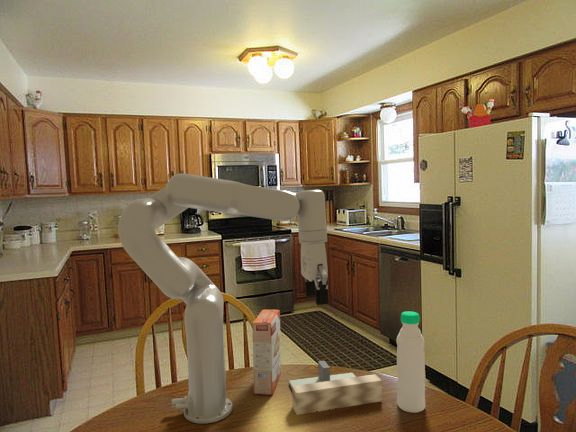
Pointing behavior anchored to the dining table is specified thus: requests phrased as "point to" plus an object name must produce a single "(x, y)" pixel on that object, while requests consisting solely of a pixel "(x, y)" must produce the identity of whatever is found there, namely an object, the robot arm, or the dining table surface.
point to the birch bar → (336, 394)
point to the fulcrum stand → (321, 376)
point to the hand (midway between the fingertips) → (316, 299)
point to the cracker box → (266, 351)
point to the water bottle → (410, 364)
